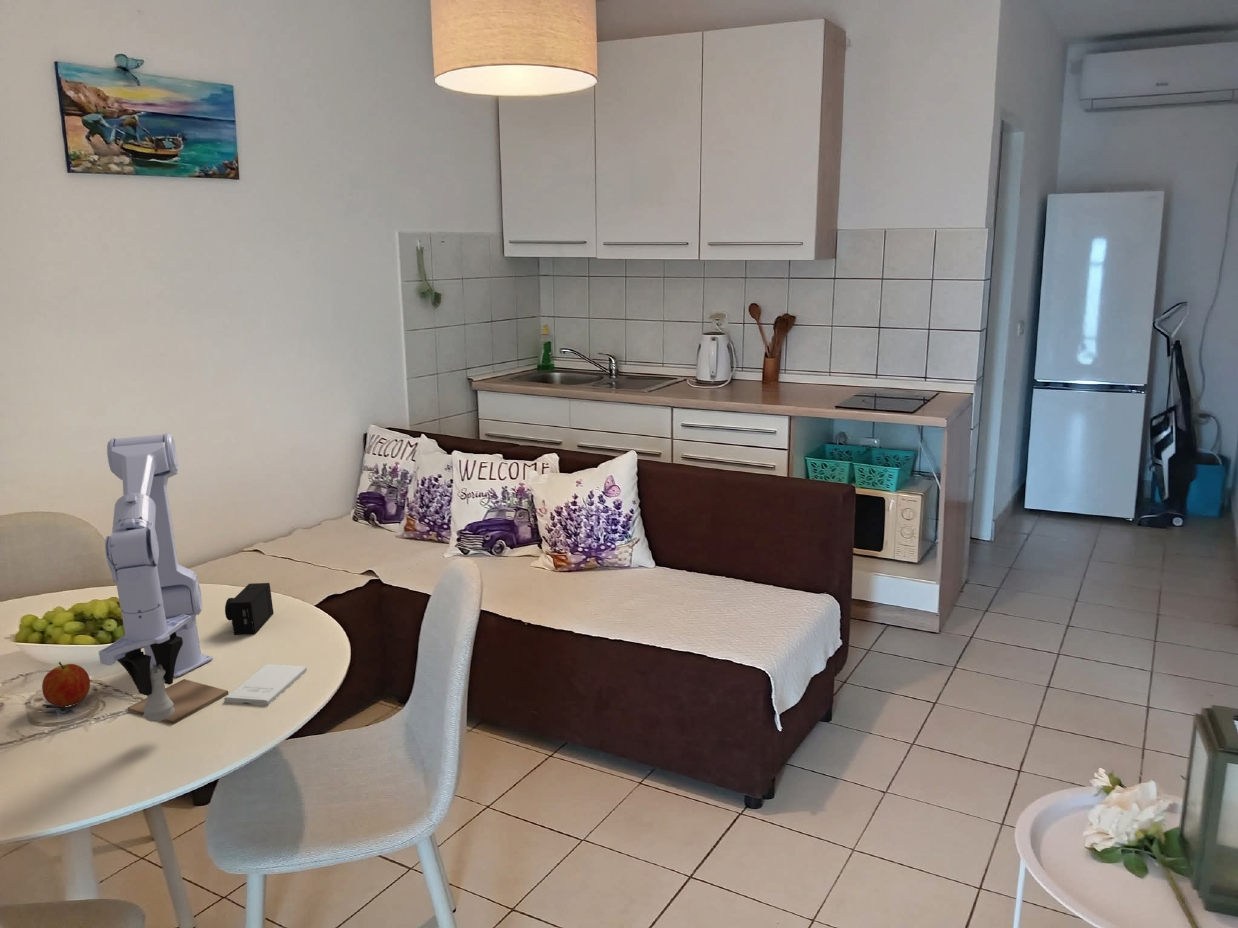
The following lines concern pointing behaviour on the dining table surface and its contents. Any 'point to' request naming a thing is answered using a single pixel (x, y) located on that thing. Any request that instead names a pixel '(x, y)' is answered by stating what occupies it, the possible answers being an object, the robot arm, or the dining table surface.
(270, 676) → the external hard drive
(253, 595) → the digital camera
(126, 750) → the dining table surface
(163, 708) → the rook chess piece
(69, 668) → the fruit
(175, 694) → the walnut coaster
